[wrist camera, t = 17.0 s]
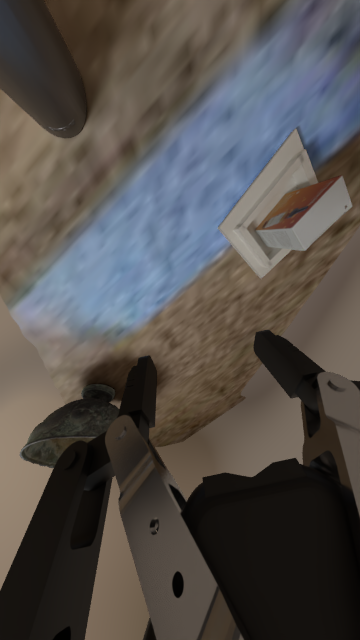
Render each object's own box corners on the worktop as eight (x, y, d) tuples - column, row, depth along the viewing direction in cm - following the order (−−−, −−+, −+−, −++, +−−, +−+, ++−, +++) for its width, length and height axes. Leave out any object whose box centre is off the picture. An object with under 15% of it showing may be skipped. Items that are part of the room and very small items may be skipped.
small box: (284, 193, 27) (344, 171, 18) (296, 214, 29) (355, 205, 20) (253, 230, 30) (291, 227, 21) (266, 247, 32) (305, 251, 23)
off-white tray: (217, 227, 30) (223, 226, 27) (291, 132, 23) (309, 117, 20) (259, 277, 37) (267, 280, 34) (324, 215, 31) (341, 212, 28)
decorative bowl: (54, 401, 56) (10, 472, 39) (71, 364, 47) (24, 436, 30) (116, 410, 67) (103, 468, 50) (141, 381, 58) (135, 441, 41)
